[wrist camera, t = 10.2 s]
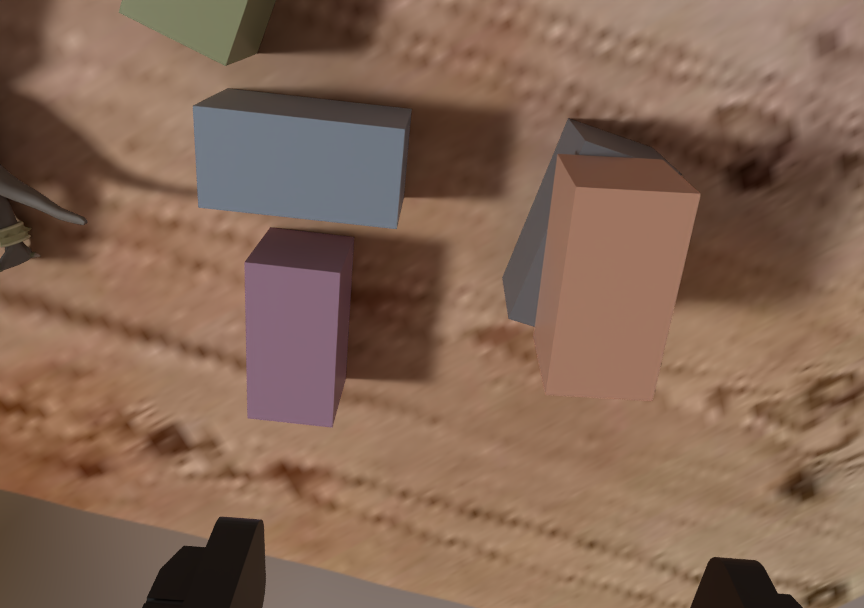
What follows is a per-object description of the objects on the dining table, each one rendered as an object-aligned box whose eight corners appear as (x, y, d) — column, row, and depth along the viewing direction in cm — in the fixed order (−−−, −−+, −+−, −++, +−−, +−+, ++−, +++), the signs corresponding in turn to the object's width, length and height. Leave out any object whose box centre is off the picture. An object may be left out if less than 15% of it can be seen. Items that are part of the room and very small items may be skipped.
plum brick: (271, 226, 32) (244, 262, 28) (354, 235, 32) (340, 272, 28) (270, 368, 35) (247, 418, 31) (346, 376, 35) (332, 427, 31)
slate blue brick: (231, 177, 31) (198, 207, 27) (228, 87, 29) (192, 105, 25) (404, 196, 31) (396, 229, 27) (411, 108, 29) (404, 129, 25)
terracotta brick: (557, 153, 25) (575, 187, 21) (662, 159, 25) (700, 193, 21) (533, 337, 29) (545, 394, 25) (625, 342, 29) (652, 400, 25)
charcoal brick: (567, 117, 29) (585, 140, 25) (651, 147, 30) (681, 174, 26) (502, 276, 33) (508, 318, 29) (578, 300, 33) (594, 345, 29)
